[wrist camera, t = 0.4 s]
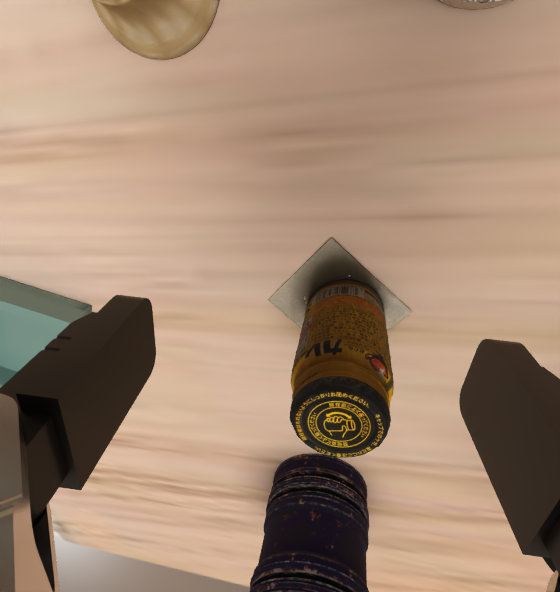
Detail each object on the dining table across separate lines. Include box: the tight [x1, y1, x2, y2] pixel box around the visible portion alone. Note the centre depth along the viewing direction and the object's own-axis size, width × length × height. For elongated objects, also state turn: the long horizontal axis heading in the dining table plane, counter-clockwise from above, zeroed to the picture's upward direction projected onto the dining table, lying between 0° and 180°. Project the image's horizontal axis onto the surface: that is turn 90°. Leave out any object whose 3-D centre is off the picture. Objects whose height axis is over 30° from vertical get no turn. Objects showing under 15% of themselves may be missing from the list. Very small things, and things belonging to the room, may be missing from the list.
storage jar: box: [250, 454, 369, 592], centre depth 34 cm, size 10×10×15 cm
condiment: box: [268, 238, 412, 457], centre depth 25 cm, size 7×8×12 cm
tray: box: [0, 277, 91, 388], centre depth 36 cm, size 11×11×3 cm
